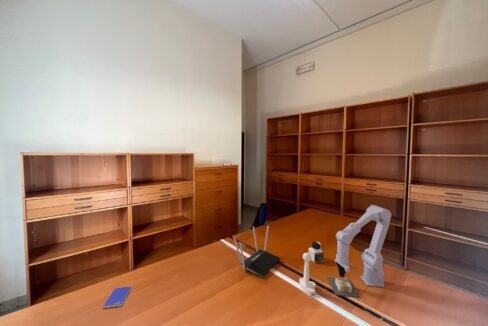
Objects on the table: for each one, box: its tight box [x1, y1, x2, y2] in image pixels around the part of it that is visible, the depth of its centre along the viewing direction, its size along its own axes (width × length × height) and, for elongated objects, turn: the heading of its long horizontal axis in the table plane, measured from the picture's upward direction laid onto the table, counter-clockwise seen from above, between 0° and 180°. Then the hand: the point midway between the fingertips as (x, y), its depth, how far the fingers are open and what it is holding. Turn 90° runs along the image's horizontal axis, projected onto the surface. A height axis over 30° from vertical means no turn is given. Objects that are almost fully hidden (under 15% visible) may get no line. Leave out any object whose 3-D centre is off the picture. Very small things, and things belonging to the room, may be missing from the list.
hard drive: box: [102, 286, 132, 309], centre depth 101 cm, size 2×8×12 cm
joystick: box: [298, 252, 316, 297], centre depth 109 cm, size 11×8×20 cm
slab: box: [334, 277, 352, 292], centre depth 109 cm, size 6×3×7 cm
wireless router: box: [233, 225, 281, 277], centre depth 132 cm, size 34×23×20 cm
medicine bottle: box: [308, 241, 325, 264], centre depth 137 cm, size 7×7×12 cm
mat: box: [327, 277, 361, 298], centre depth 110 cm, size 12×14×1 cm
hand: (341, 276), depth 112 cm, fingers closed
